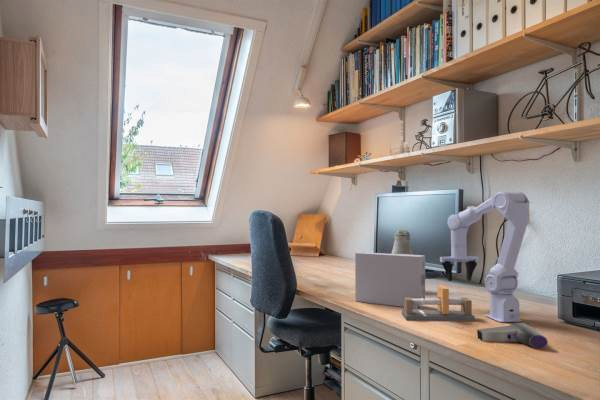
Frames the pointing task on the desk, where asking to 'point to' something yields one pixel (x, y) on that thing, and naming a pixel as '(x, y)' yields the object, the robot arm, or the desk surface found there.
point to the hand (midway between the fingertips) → (459, 280)
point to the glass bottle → (402, 243)
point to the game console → (389, 278)
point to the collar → (443, 299)
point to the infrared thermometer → (514, 335)
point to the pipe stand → (437, 315)
